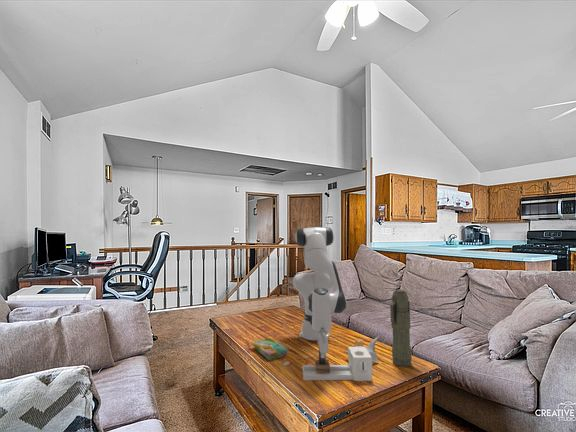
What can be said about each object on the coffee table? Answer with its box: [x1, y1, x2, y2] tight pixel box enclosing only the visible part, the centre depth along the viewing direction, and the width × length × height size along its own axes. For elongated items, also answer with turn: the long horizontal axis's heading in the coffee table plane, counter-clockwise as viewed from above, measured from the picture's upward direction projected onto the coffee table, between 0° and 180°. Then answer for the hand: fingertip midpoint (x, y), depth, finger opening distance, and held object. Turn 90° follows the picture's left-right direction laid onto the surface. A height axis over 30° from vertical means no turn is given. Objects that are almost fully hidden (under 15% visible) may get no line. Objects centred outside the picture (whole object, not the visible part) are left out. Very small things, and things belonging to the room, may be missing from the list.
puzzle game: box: [251, 337, 289, 361], centre depth 165 cm, size 12×5×20 cm
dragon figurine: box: [346, 335, 381, 366], centre depth 156 cm, size 15×15×9 cm
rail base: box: [302, 346, 373, 382], centre depth 139 cm, size 13×30×10 cm, turn 89°
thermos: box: [390, 289, 412, 368], centre depth 151 cm, size 9×12×35 cm
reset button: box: [354, 338, 365, 347], centre depth 140 cm, size 4×4×2 cm
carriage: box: [314, 349, 331, 373], centre depth 140 cm, size 7×6×10 cm
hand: (322, 355), depth 140 cm, fingers closed on carriage, 3 cm apart
